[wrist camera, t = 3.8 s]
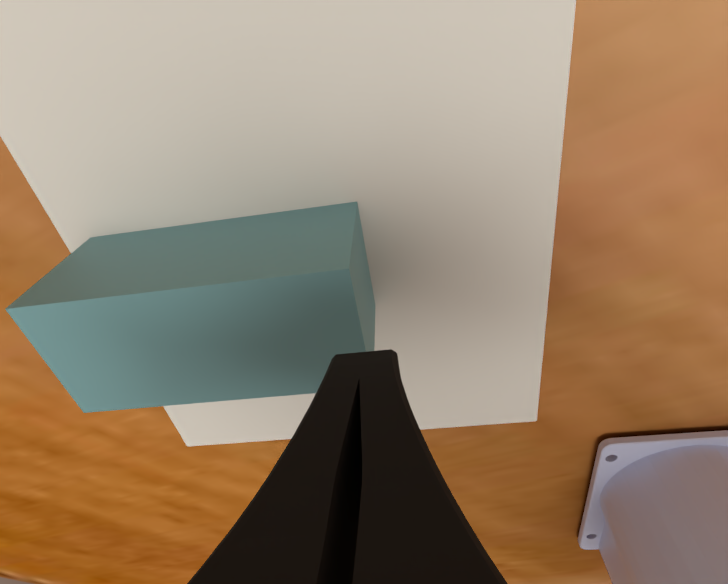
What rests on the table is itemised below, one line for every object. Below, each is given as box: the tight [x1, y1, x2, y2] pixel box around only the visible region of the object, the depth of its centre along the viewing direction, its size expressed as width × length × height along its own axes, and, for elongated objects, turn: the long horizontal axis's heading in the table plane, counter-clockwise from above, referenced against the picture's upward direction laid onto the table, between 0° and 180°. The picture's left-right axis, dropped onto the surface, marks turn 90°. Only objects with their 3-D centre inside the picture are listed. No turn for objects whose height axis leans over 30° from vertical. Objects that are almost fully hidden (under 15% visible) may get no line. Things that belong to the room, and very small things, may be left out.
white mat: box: [0, 0, 576, 446], centre depth 15 cm, size 18×16×1 cm
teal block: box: [6, 202, 375, 413], centre depth 14 cm, size 4×4×9 cm
